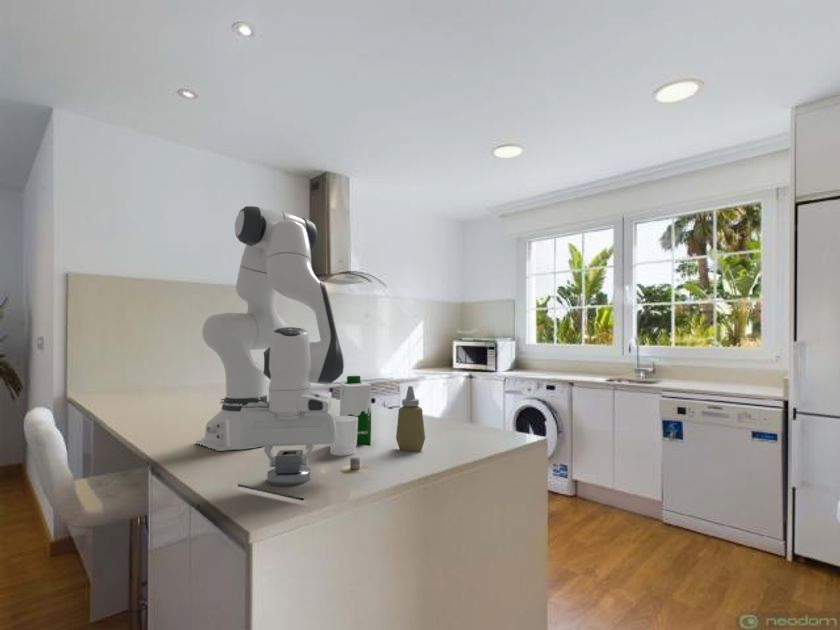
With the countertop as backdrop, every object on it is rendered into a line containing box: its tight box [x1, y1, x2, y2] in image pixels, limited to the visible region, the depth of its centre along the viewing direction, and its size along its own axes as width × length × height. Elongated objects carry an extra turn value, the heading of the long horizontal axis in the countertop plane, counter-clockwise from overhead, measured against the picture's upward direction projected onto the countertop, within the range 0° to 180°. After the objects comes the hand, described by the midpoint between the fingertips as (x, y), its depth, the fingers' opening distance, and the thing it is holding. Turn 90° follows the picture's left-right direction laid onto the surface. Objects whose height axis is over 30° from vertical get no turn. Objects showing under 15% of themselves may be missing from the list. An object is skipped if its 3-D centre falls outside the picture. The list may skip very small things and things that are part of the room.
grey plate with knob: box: [237, 454, 312, 501], centre depth 98 cm, size 18×12×6 cm, turn 62°
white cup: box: [329, 415, 358, 456], centre depth 121 cm, size 8×8×10 cm
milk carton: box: [339, 375, 372, 447], centre depth 133 cm, size 9×9×20 cm
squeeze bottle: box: [395, 385, 426, 453], centre depth 125 cm, size 8×8×18 cm
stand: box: [339, 456, 371, 475], centre depth 106 cm, size 7×7×4 cm
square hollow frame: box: [274, 449, 304, 474], centre depth 98 cm, size 5×5×4 cm
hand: (289, 465), depth 98 cm, fingers closed on square hollow frame, 5 cm apart
